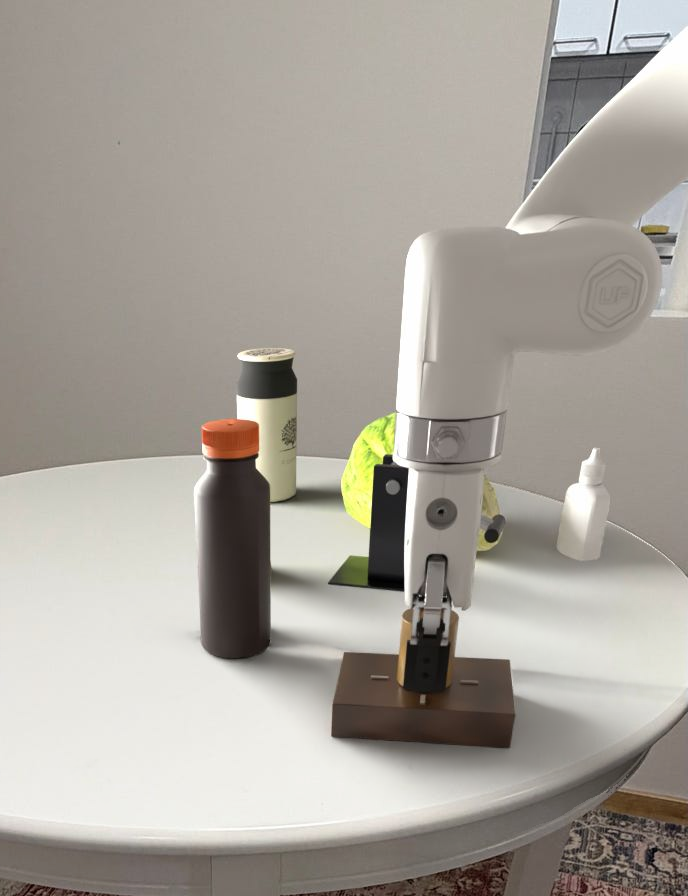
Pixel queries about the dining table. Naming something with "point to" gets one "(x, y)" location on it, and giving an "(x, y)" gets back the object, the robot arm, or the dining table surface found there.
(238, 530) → the vinegar
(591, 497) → the eye dropper bottle
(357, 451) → the lettuce
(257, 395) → the travel mug
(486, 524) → the faucet lever
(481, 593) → the dining table surface
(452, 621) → the tap knob
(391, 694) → the knob panel
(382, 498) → the black lever stand
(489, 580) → the dining table surface
